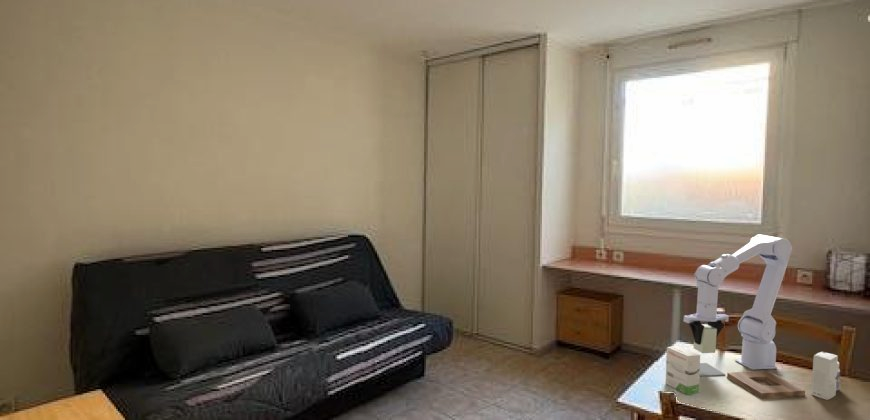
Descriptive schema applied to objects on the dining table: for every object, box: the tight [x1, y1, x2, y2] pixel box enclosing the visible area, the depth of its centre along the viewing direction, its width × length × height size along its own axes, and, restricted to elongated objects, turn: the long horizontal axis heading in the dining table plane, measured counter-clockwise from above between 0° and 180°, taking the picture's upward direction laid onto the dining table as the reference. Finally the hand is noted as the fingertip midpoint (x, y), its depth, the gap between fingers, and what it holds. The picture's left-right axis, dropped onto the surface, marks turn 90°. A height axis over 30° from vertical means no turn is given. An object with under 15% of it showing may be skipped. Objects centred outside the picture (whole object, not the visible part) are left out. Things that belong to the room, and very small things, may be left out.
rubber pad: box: [699, 362, 726, 378], centre depth 162 cm, size 9×9×1 cm
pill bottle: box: [836, 361, 841, 391], centre depth 150 cm, size 5×5×8 cm
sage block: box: [693, 323, 717, 354], centre depth 161 cm, size 4×4×8 cm
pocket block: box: [726, 370, 806, 399], centre depth 151 cm, size 14×14×2 cm
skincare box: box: [810, 351, 839, 401], centre depth 145 cm, size 6×4×12 cm
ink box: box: [665, 345, 701, 396], centre depth 149 cm, size 9×5×12 cm, turn 20°
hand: (704, 343), depth 161 cm, fingers closed on sage block, 4 cm apart
